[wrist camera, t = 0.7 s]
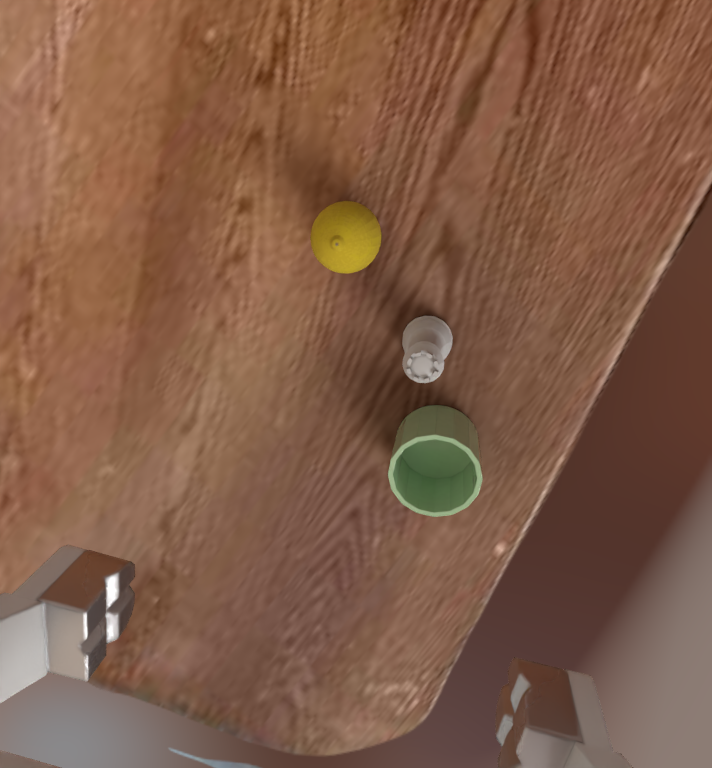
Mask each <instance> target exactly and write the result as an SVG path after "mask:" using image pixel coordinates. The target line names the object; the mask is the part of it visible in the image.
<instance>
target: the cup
mask: <svg viewBox="0 0 712 768" xmlns="http://www.w3.org/2000/svg"><path fill="white" fill-rule="evenodd" d="M388 477H389V482H390V486H391V490H392V491H393V493H394V494H395V495H396V497H397V498H398V499H399V501H400V502H401V503H402V504H403V505H405V506H407V507H408V508H410V509H411V510H413V511H414V512H417V513H420V514H424V515H428V516H433V517H437V516H446V515H453V514H455V513H457V512H459V511H461V510H463V509H465V508H467V507H468V506H469V505H470V504H471V502H472V501H473V500H474V499H475V498H476V497H477V496H478V494H479V490H480V487H481V483H482V479H483V478H482V465H481V453H480V444H479V437H478V433H477V430H476V428H475V426H474V425H473V423H472V422H471V421H470V419H469V418H468V417H467V416H465V415H464V414H463V413H461V412H460V411H458V410H456V409H454V408H451V407H447V406H442V405H430V406H425V407H422V408H419V409H417V410H415V411H413V412H412V413H410V414H409V415H408V416H407V417H406V418H405V419H404V420H403V421H402V423H401V424H400V426H399V428H398V430H397V434H396V439H395V443H394V448H393V452H392V456H391V461H390V466H389V471H388Z"/></svg>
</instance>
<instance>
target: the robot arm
mask: <svg viewBox="0 0 712 768" xmlns="http://www.w3.org/2000/svg"><path fill="white" fill-rule="evenodd" d="M134 577H135V564H133V563H132V562H131V561H127V560H123V559H120V558H116V557H113V556H109V555H105V554H102V553H98V552H95V551H91V550H85V549H82V548H78V547H75V546H71V545H66V546H63V547H61V548H59V549H58V550H57V551H56V552H55V553H54V554H53V555H52V556H51V557H50V558H49V559H48V560H47V561H46V562H45V563H44V564H43V565H42V566H41V567H40V568H39V569H37V570H36V571H35V572H34V573H33V574H32V575H31V576H30V577H29V578H28V579H27V580H26V581H25V582H24V583H23V584H22V585H21V586H20V587H19V588H18V589H17V590H16V591H14V592H13V593H12V594H9V593H3V594H0V703H1V702H3V701H4V700H6V699H8V698H9V697H11V696H13V695H14V694H16V693H17V692H19V691H21V690H22V689H24V688H26V687H27V686H29V685H30V684H32V683H34V682H35V681H37V680H39V679H40V678H42V677H43V676H45V675H46V674H47V672H50V673H54V674H58V675H63V676H67V677H71V678H75V679H79V680H83V681H88V680H89V678H90V677H91V676H92V674H93V673H94V671H95V670H96V669H97V667H98V666H99V664H100V663H101V662H102V660H103V659H104V658H105V656H106V644H108V643H110V642H112V641H114V640H116V639H118V638H119V637H120V635H121V634H122V632H123V631H124V629H125V628H126V626H127V624H128V621H129V619H130V617H131V615H132V611H133V606H134V599H135V593H134V591H133V590H132V588H131V587H130V585H129V584H130V583H131V581H132V580H133V579H134ZM508 680H509V683H508V684H506V685H505V686H503V687H502V689H501V692H500V695H499V698H498V703H497V709H496V722H495V724H496V725H495V727H496V738H497V740H498V741H499V743H500V744H501V746H502V749H501V752H500V755H499V757H498V768H633V767H632V766H631V765H630V764H629V762H628V761H627V760H626V759H625V758H624V756H623V755H622V754H620V753H617V752H613V748H612V745H611V741H610V738H609V734H608V730H607V727H606V723H605V720H604V716H603V712H602V709H601V705H600V702H599V698H598V694H597V691H596V687H595V683H594V680H593V679H592V677H591V676H590V675H587V674H583V673H578V672H574V671H570V670H566V669H564V670H563V669H561V668H557V667H552V666H548V665H544V664H540V663H536V662H531V661H528V660H524V659H519V658H515V657H514V659H513V660H512V661H511V663H510V666H509V669H508ZM0 768H60V767H57V766H53V765H50V764H47V763H43V762H40V761H36V760H33V759H29V758H25V757H22V756H19V755H15V754H12V753H8V752H5V751H2V750H0Z"/></svg>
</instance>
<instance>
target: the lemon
mask: <svg viewBox="0 0 712 768" xmlns="http://www.w3.org/2000/svg"><path fill="white" fill-rule="evenodd" d="M310 239H311V247H312V249H313V252H314V255H315V256H316V258H317V259H318V261H319V262H320V263H321V264H322V265H323V266H324V267H326V268H328V269H330V270H331V271H334V272H338V273H353V272H357V271H360V270H361V269H363V268H365V267H367V266H368V265H369V264H370V263H371V262H372V261H373V260H374V258H375V257H376V255H377V253H378V251H379V248H380V245H381V229H380V225H379V223H378V220H377V218H376V217H375V215H374V214H373V213H372V212H371V211H370V210H369V209H368V208H366V207H365V206H364V205H362V204H359V203H357V202H352V201H342V202H336V203H334V204H332V205H329V206H327V207H326V208H325V209H324V210H323V211H321V212H320V214H319V215H318V216H317V218H316V219H315V221H314V224H313V226H312V229H311V237H310Z"/></svg>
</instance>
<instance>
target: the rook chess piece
mask: <svg viewBox="0 0 712 768" xmlns="http://www.w3.org/2000/svg"><path fill="white" fill-rule="evenodd" d="M452 339H453V337H452V334H451V330H450V328H449V327H448V326H447V324H446V323H445V322H444V321H443V320H441V319H439V318H437V317H435V316H422V317H418V318H415V319H414V320H413V321H411V322H410V323H409V324H408V325H407V327H406V329H405V330H404V332H403V341H402V346H403V349H404V352H405V355H404V357H403V365H402V366H403V369H404V372H405V373H406V375H407V376H408V377H409V378H410V379H412V380H414V381H416V382H419V383H428V382H432V381H434V380H435V379H437V378H438V377H439V376H440V375H441V373H442V371H443V369H444V359H445V358H446V357H447V355H448V354H449V352H450V350H451V347H452Z"/></svg>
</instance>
